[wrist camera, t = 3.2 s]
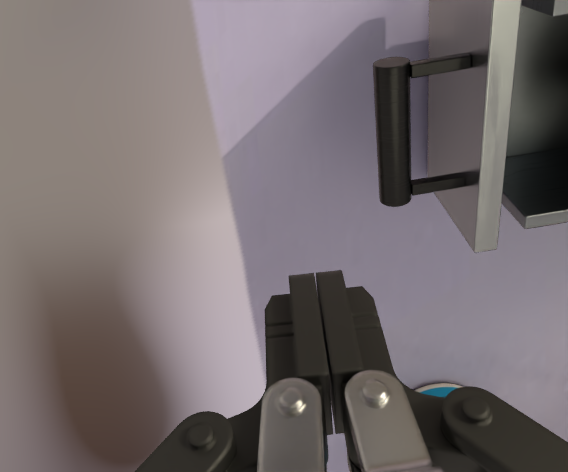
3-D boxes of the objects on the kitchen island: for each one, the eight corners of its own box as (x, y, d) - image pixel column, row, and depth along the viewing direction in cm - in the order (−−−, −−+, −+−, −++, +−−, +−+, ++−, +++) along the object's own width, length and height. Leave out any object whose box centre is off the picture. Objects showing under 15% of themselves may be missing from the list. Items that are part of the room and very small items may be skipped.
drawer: (360, 194, 33) (391, 267, 26) (345, -21, 26) (381, 4, 20) (654, 146, 33) (759, 207, 26) (716, -85, 26) (880, -81, 19)
